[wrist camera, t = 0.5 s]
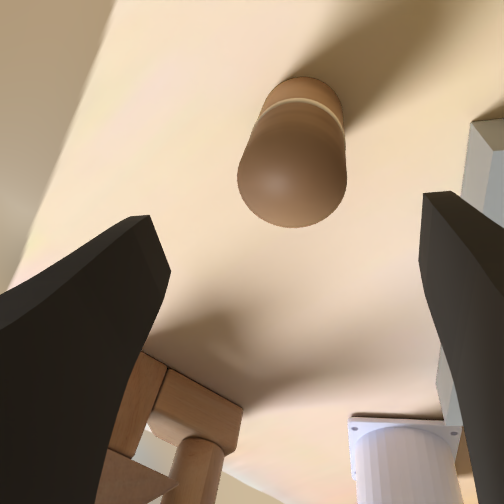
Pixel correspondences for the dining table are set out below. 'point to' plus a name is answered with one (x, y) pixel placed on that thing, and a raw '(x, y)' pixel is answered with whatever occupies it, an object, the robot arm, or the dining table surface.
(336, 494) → the dining table surface
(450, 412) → the board
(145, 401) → the wooden block
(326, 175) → the peg
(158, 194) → the dining table surface
